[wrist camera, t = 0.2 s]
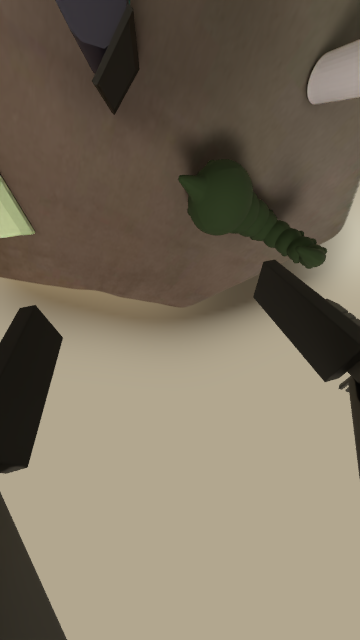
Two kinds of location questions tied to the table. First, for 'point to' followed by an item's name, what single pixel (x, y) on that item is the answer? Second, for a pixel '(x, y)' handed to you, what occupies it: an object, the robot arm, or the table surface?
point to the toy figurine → (243, 212)
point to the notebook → (11, 215)
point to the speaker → (105, 43)
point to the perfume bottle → (336, 75)
